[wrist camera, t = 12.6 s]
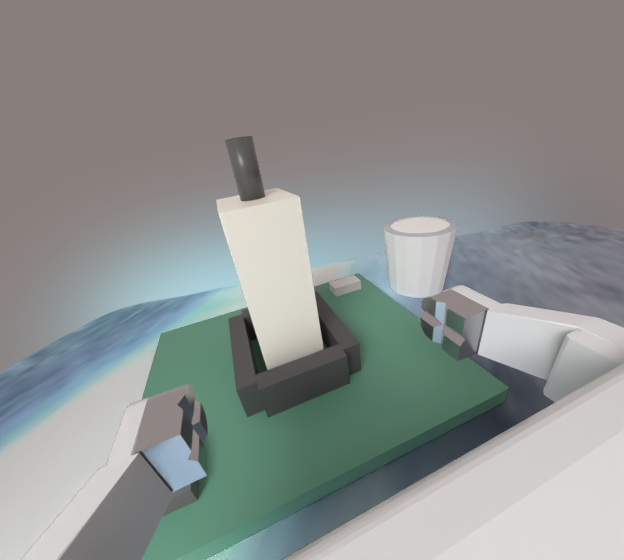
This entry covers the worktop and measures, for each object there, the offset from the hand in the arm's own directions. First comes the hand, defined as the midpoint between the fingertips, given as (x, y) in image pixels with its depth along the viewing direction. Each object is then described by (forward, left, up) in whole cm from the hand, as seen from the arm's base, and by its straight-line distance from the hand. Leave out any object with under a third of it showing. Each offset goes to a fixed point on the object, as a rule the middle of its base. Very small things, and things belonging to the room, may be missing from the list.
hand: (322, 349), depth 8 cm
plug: (0, +9, -8) cm, 12 cm away
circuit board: (0, +9, -9) cm, 13 cm away
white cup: (+16, +14, -10) cm, 23 cm away
